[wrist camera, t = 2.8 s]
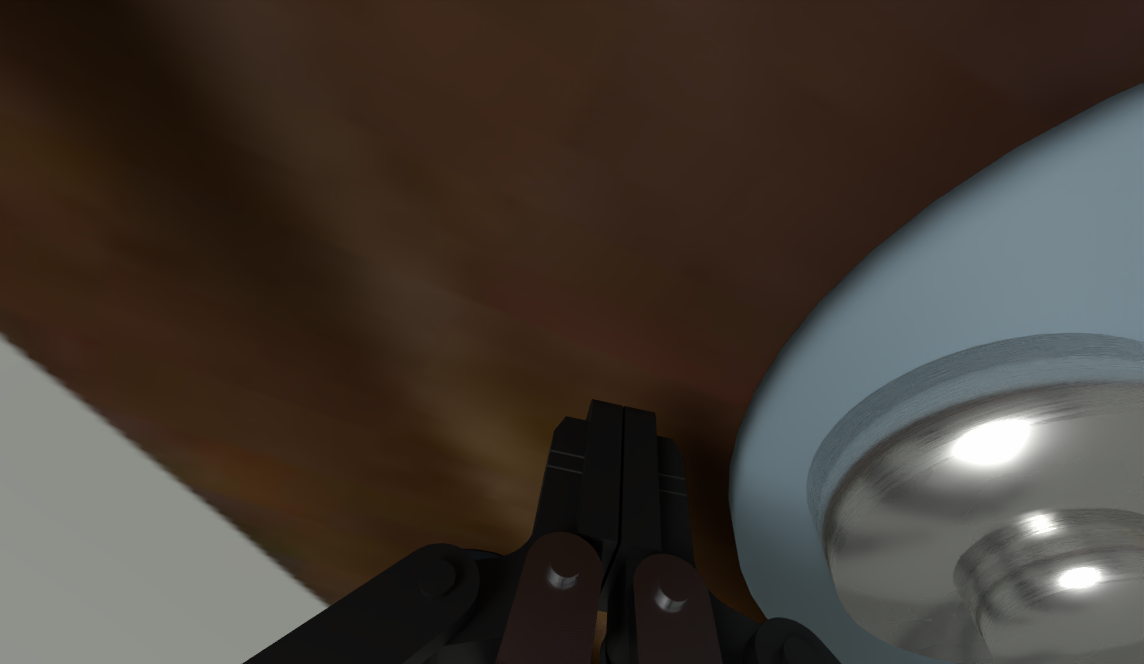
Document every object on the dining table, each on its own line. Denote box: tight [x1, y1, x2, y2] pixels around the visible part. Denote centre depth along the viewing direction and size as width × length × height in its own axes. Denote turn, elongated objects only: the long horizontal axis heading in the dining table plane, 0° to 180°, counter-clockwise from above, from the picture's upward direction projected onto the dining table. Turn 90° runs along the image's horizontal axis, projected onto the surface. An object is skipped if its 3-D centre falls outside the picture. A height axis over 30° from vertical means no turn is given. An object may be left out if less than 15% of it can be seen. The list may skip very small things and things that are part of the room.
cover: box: [806, 333, 1144, 664], centre depth 11 cm, size 9×9×4 cm
